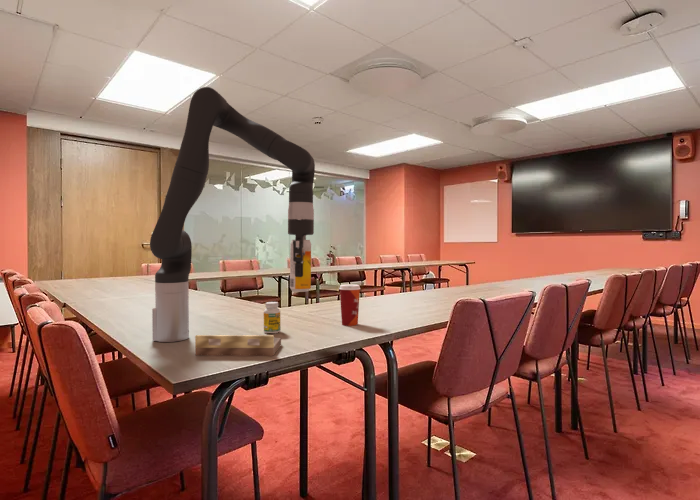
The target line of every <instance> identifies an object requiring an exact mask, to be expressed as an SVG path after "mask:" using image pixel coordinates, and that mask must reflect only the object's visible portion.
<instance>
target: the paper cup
mask: <svg viewBox="0 0 700 500" xmlns="http://www.w3.org/2000/svg"><path fill="white" fill-rule="evenodd" d="M361 289H362V288H361V287H360V284H356V283H353V284H352V283H351V284H350V283H349V284H348V283H346V284H340V285H339V288H338V290H339V295H340V298H339V299H340V300H339V301H340V312H341V313H340V315H341V316H340V317H341V325H342V326H344V327H354V326H358V324H359V311H360V310H359V309H360V308H359V307H360V294H361V293H360V292H361Z"/></svg>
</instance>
